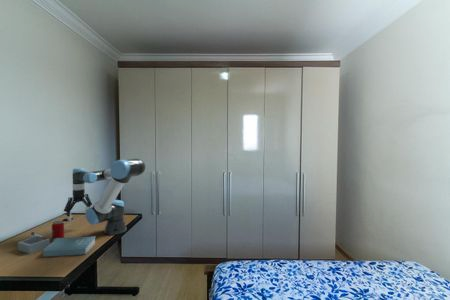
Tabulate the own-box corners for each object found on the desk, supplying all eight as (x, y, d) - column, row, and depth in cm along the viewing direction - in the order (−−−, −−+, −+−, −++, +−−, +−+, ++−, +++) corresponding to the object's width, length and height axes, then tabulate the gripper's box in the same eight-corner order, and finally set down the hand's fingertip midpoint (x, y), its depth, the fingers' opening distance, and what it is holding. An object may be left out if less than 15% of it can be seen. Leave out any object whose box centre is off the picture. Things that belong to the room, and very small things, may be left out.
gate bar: (44, 240, 158) (44, 234, 158) (41, 241, 157) (41, 235, 157) (33, 237, 163) (33, 231, 163) (30, 238, 161) (30, 232, 161)
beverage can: (55, 237, 164) (55, 220, 163) (66, 237, 164) (66, 220, 164) (49, 241, 157) (49, 223, 157) (60, 241, 158) (60, 223, 157)
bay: (58, 244, 153) (58, 236, 153) (31, 254, 139) (31, 246, 139) (44, 240, 159) (44, 233, 158) (17, 250, 145) (17, 242, 144)
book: (95, 243, 156) (95, 236, 156) (85, 255, 140) (85, 247, 140) (57, 245, 152) (57, 238, 152) (43, 257, 137) (42, 249, 136)
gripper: (90, 185, 186) (90, 212, 187) (57, 191, 163) (57, 222, 164) (97, 186, 184) (97, 213, 185) (65, 193, 161) (65, 223, 161)
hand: (78, 217), depth 174 cm, fingers open, 13 cm apart
